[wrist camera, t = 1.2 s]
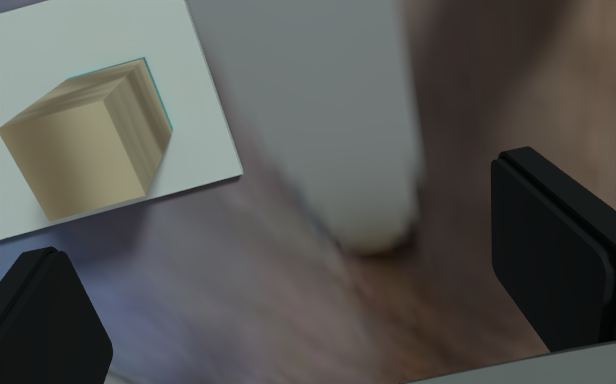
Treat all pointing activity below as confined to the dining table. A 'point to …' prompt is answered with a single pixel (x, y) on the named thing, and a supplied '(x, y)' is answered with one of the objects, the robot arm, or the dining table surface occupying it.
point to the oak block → (91, 139)
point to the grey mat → (100, 54)
